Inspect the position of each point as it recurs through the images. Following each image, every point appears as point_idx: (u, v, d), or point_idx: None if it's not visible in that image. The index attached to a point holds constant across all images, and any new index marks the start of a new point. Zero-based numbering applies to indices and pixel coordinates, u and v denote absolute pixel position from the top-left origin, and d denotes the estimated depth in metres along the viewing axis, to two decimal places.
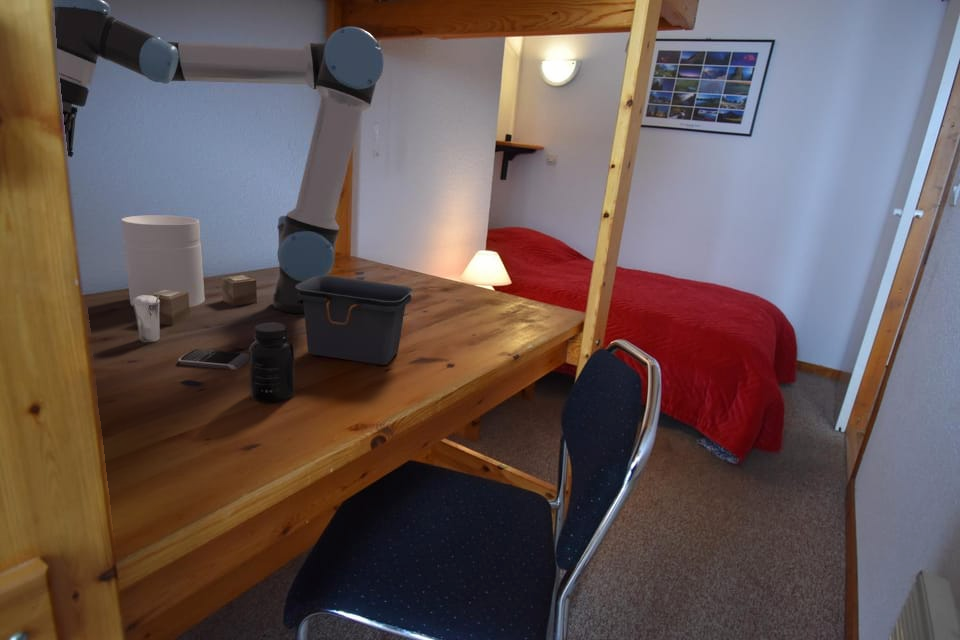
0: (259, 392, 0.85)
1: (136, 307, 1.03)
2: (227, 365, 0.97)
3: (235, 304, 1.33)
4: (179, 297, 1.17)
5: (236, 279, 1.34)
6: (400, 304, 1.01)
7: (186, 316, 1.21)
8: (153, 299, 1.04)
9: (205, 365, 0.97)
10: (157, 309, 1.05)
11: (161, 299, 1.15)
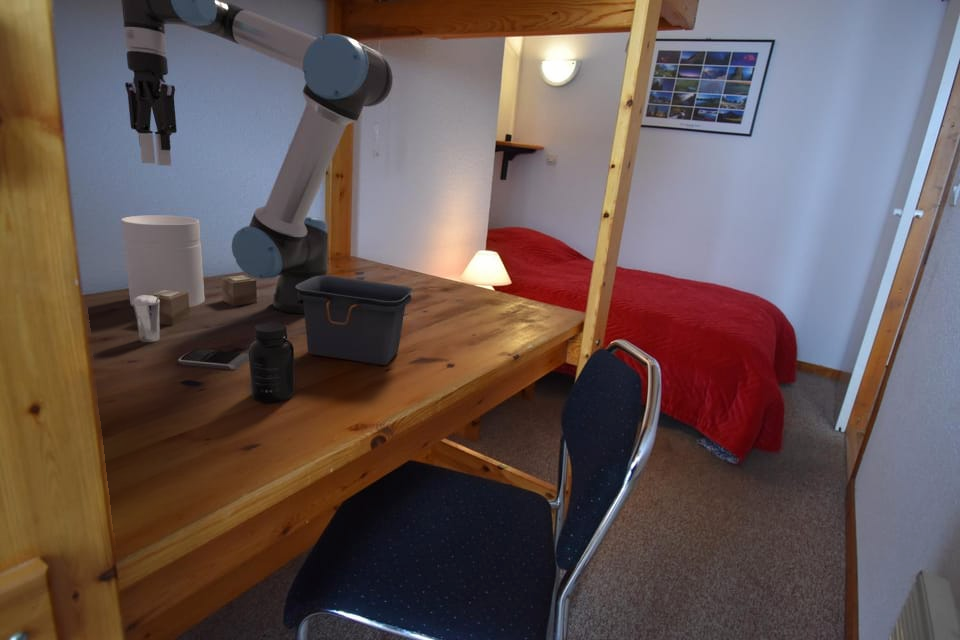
0: (259, 392, 0.85)
1: (136, 307, 1.03)
2: (227, 365, 0.97)
3: (235, 304, 1.33)
4: (179, 297, 1.17)
5: (236, 279, 1.34)
6: (400, 304, 1.01)
7: (186, 315, 1.21)
8: (153, 299, 1.04)
9: (205, 365, 0.97)
10: (157, 309, 1.05)
11: (161, 299, 1.15)
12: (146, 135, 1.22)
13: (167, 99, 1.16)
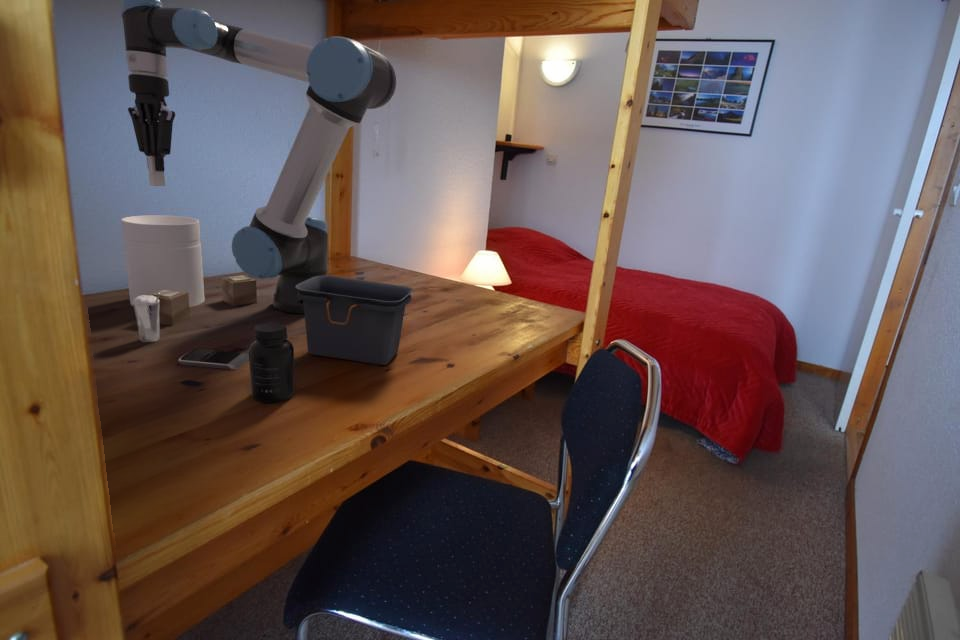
0: (259, 392, 0.85)
1: (136, 307, 1.03)
2: (227, 365, 0.97)
3: (235, 304, 1.33)
4: (179, 297, 1.17)
5: (236, 279, 1.34)
6: (400, 304, 1.01)
7: (186, 315, 1.21)
8: (153, 299, 1.04)
9: (205, 365, 0.97)
10: (157, 309, 1.05)
11: (161, 299, 1.15)
12: None
13: (165, 124, 1.18)
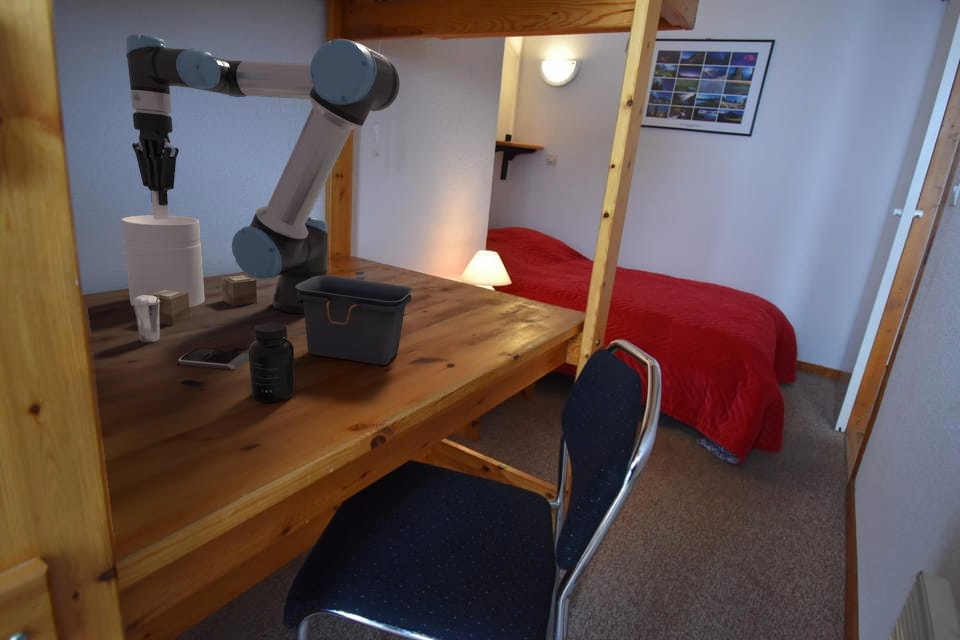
0: (259, 392, 0.85)
1: (136, 307, 1.03)
2: (227, 365, 0.97)
3: (235, 304, 1.33)
4: (179, 297, 1.17)
5: (236, 279, 1.34)
6: (400, 304, 1.01)
7: (186, 316, 1.21)
8: (153, 299, 1.04)
9: (205, 365, 0.97)
10: (157, 309, 1.05)
11: (161, 299, 1.15)
12: None
13: (169, 160, 1.20)
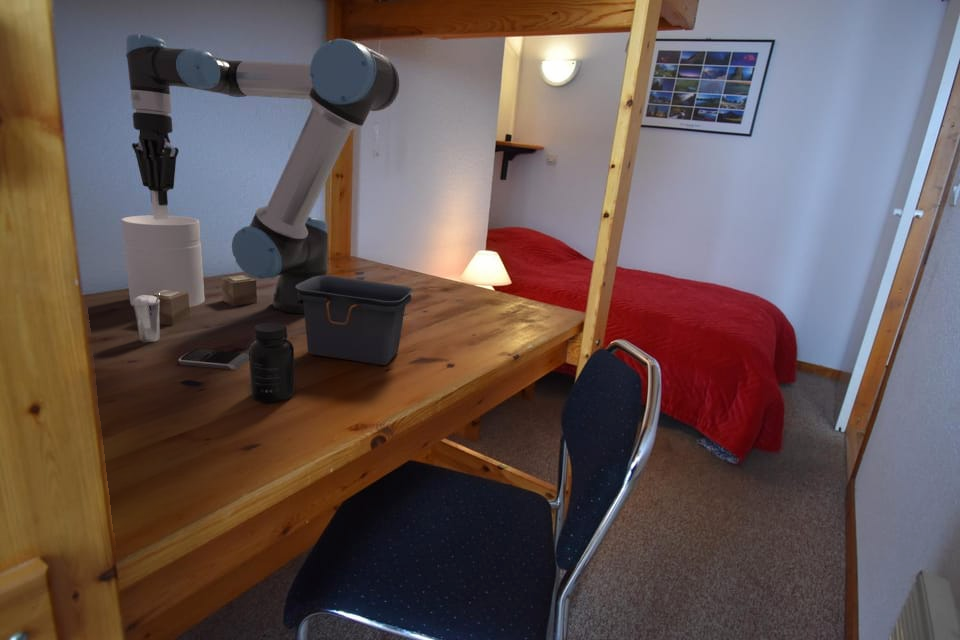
0: (259, 392, 0.85)
1: (136, 307, 1.03)
2: (227, 365, 0.97)
3: (235, 304, 1.33)
4: (179, 297, 1.17)
5: (236, 279, 1.34)
6: (400, 304, 1.01)
7: (186, 315, 1.21)
8: (153, 299, 1.04)
9: (205, 365, 0.97)
10: (157, 309, 1.05)
11: (161, 299, 1.15)
12: None
13: (169, 160, 1.20)
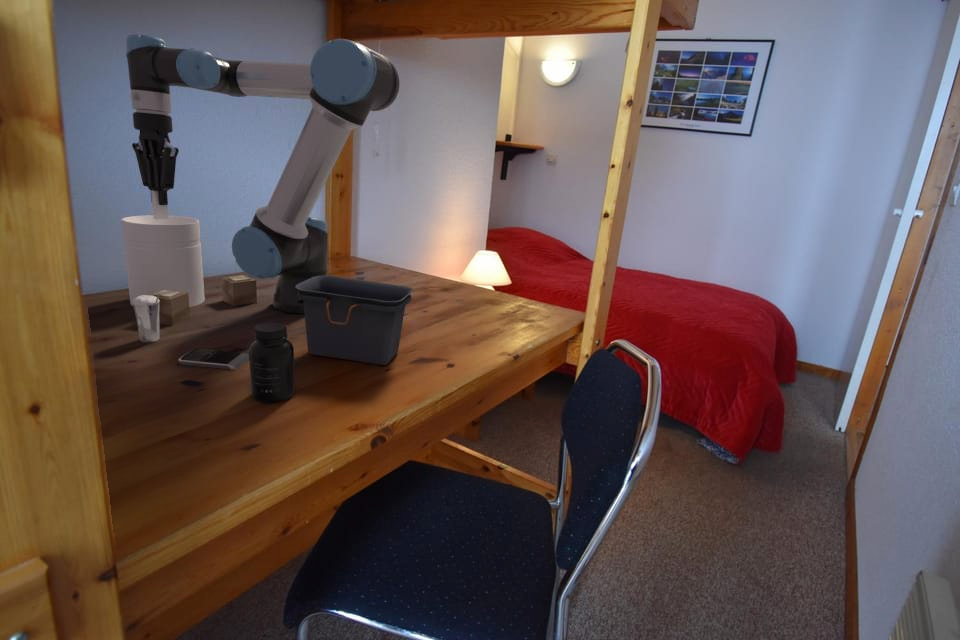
0: (259, 392, 0.85)
1: (136, 307, 1.03)
2: (227, 365, 0.97)
3: (235, 304, 1.33)
4: (179, 297, 1.17)
5: (236, 279, 1.34)
6: (400, 304, 1.01)
7: (186, 316, 1.21)
8: (153, 299, 1.04)
9: (205, 365, 0.97)
10: (157, 309, 1.05)
11: (161, 299, 1.15)
12: None
13: (169, 160, 1.20)
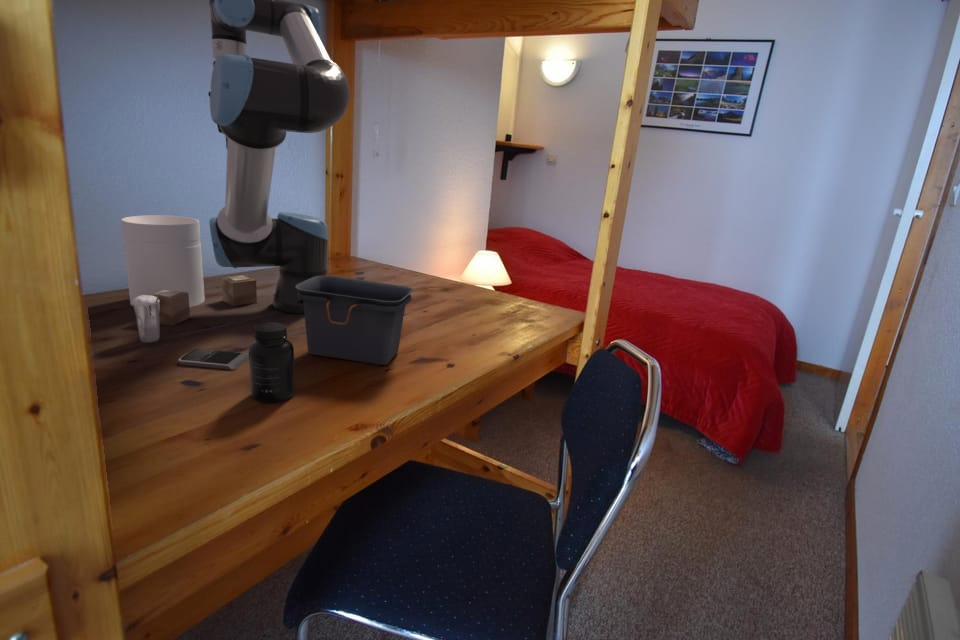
0: (259, 392, 0.85)
1: (136, 307, 1.03)
2: (227, 365, 0.97)
3: (235, 304, 1.33)
4: (179, 297, 1.17)
5: (236, 279, 1.34)
6: (400, 304, 1.01)
7: (186, 316, 1.21)
8: (153, 299, 1.04)
9: (205, 365, 0.97)
10: (157, 309, 1.05)
11: (161, 299, 1.15)
12: None
13: None
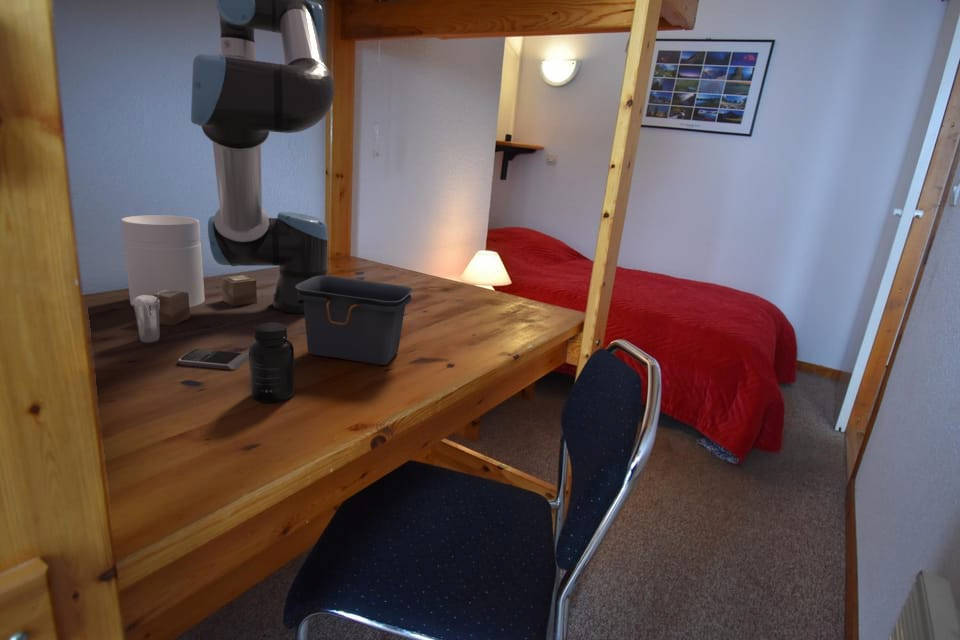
0: (259, 392, 0.85)
1: (136, 307, 1.03)
2: (227, 365, 0.97)
3: (235, 304, 1.33)
4: (179, 297, 1.17)
5: (236, 279, 1.34)
6: (400, 304, 1.01)
7: (186, 316, 1.21)
8: (153, 299, 1.04)
9: (205, 365, 0.97)
10: (157, 309, 1.05)
11: (161, 299, 1.15)
12: None
13: None
